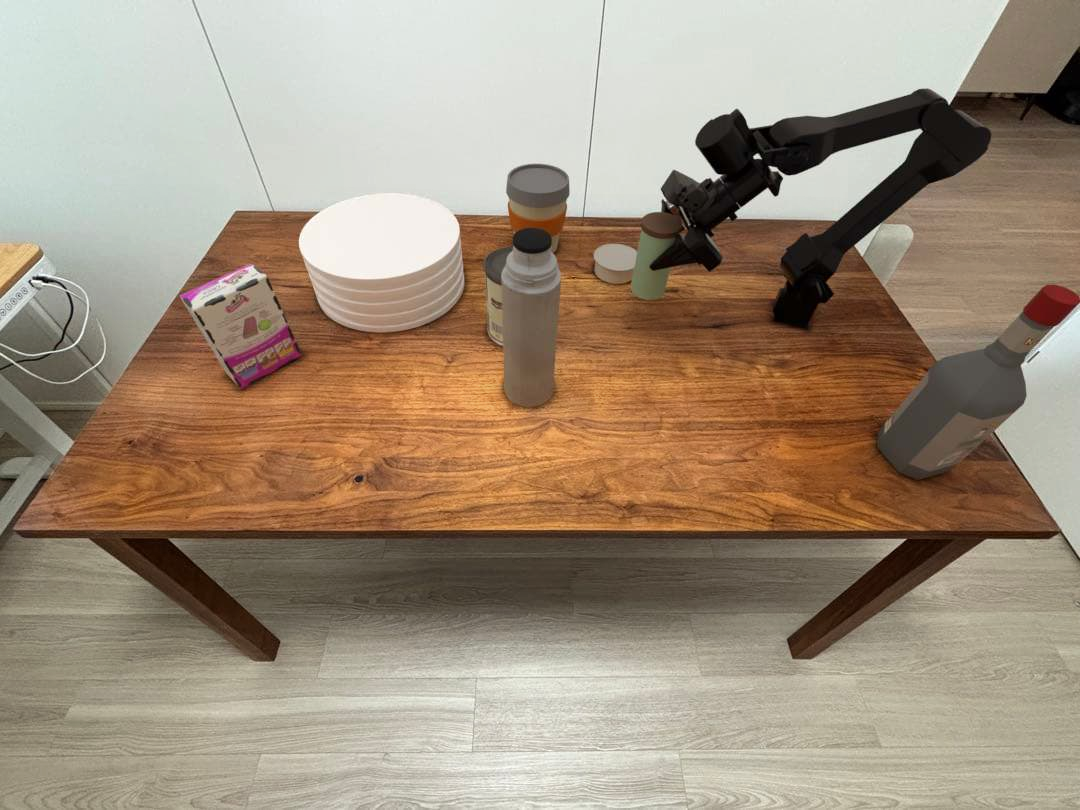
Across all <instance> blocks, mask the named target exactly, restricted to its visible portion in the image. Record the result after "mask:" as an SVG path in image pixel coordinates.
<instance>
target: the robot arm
mask: <svg viewBox="0 0 1080 810" xmlns="http://www.w3.org/2000/svg"><path fill="white" fill-rule="evenodd" d="M917 130H921V132H920V134H919V135H918V136H917V137H916V138H915V139H914V141H913V143H912V145H911V147H910V149H909V151H908V153H907V154H906V155H907V156H906V158H905V160H904V161H903V162H902V163H901V164H900V165H899V166H898V167H896V169H894V170H893V171H892V172H891V173H890V174H888V175H887V177H885V178H884V179H883V180H882V181H881V182H880V183H878V184H877V185H876V186H875V187H874V188H873V189H871V191H869V192H868V193H867V194H866V195H865V196H864V197H862V198H861V199H860V200H859V201H858V202H856V204H855V205H853V206H852V207H851V208H850V209H849V210H848V211H846V212H845V213H844V214H843V215H842V216H841V217H840V218H839V219H837V221H835V222H834V223H833V224H832V225H830V226H829V227H828V229H826V230H825V231H823V232H821V233H818V234H815V235H812V236H809V234H808V233H807V232H806V233H803V234H801V235H799V237H798V239H797V240H796V241H794V242H793V244H791V245H789V246H788V247H786V248H785V253H783V255H781V258H780V264H779V266H780V269H781V271H782V273H783V274H782V275H783V277H784V278H785V279H786V281H785V284H784V286H783V287H780V288H779V289H778V291H777V294H776V296H775V298H774V300H773V301H772V307H771V312H772V314H773V317H772V321H773V322H774V323H777V324H781V325H786V326H790V327H791V326H792V327H796V328H800V329H805V330H809V329H810V327H811V320H812V317H813V316H814V313H815V311H816V310H817V308H818V306H819V305H820V304H826V303H828V302H829V300H831V298H833V296H834V295H835V294H834V291H833V290H832V288H831V287H830V286H829V284H828V283H827V282H828V280H830V279H831V278H832V276H834V275H835V274H836V272H837V271H838V268H839V266H840V264H841V262H842V260H843V258H844V255H845V254H846V253H848V251H850V250H851V249H852V248H853V247H855V246H856V245H857V244H858V243H859V242H860V241H862V240H863V239H864V238H865V237H866V236H868V235H869V234H871V232H873V231H874V230H876V228H877V227H879V226H880V225H881V224H882V223H883V222H884V221H886V220H887V219H888V218H890V217H891V216H892V215H893V214H894V213H896V212H897V211H898V210H900V208H902V207H903V206H904V205H905V204H906V203H908V202H909V201H910V200H912V198H914V197H915V196H916V195H917V194H918V193H920V192H921V191H922V190H923V189H925V188H926V187H927V186H928V185H930V184H933V183H936V182H939V181H943V180H946V179H949V178H952V177H955V176H956V175H957V174H960V172H962V171H963V170H965V169H967V168H968V167H969V166H971V165H972V164H974V163H975V162H977V161H978V160H980V158H982V157H983V156H984V155H985V154H986V152H987V151H988V150H989V145H990V142H991V140H992V131H991V130H990V129H989V128H988V127H987V126H985V125H983V124H982V123H980V122H979V121H978V120H976V119H974V118H972V116H970V115H968V114H967V113H965V112H964V111H962V110H959V109H954V108H953V107H952V106H951V105H950V104H949V102H948V100H947V99H946V98H945V97H943V96H942V95H940V94H939V93H937V92H936V91H934V90H933V89H931V88H928V87H927V88H918V89H916V90H914V91H913V92H911V93H909V94H906V95H903V96H898V97H895V98H892V99H889V100H884V101H881V102H878V103H875V104H871V105H868V106H864V107H861V108H860V107H859V108H857V109H854V110H850V111H846V112H843V113H839V114H836V115H832V116H831V115H830V116H815V115H801V116H800V115H799V116H791V117H785V118H782V119H780V120H778V121H776V122H774V123H773V124H769V125H762V126H758V127H757V126H756V127H751V128H750V127H749V125H748V122H747V119H746V117H745V116H744V114H743V113H742V112H741V110H740V109H738V108H735V109H734V110H732V112H731V113H725V114H722V115H719V116H717V117H715V118H711V119H710V120H708V121H707V122H706V123H705V124H704V125H703V126H702V127H701V128H700V130H699V131H698V133H697V134H696V137H695V140H694V144H695V147H696V148H697V149H698V151H699V152H700V153H701V155H702V156H703V158H704V159H705V160H706V162H707V163H708V165H709V166H710V168H711V169H712V170H713V171H714V172H715V174H717V175H720V176H719V177H718V178H716V179H715V180H714V181H713V179H712V178H711V177H709V178H705V179H704V180H702V181H701V182H699V181H697V180H695V179H694V178H692V177H691V176H688V175H686V174H684V173H682V172H680V171H678V170H677V169H673V170H672V171H671V172H670V174H669V175H668V177H667V178H666V180H665V181H664V183H663V184H662V185H661V187H660V192H661V193H662V195H663V198H665V199H663V198H662V199H661V201H660V203H661V210H660V212H664V213H669V214H672V215H674V216H676V217H678V218H679V219H680V220H681V222H682V230H681V232H683V231H685V230H687V232H686V233H685V236H684V237H683V235H682V234H681V233H679V232H677V234H676V238H675V241H674V244H673V245H671V246H670V247H669V248H668V249H667V250H666V251H665V252H663V253H662V254H661V255H660V256H659V257H658V258H657V259H656V260H654V262H653V263H652V264H651V265H650V266H649V267H650V269H651V270H652V271H655V270H660V269H665V268H669V267H671V268H673V267H679V266H686V265H693V264H697V265H699V266H701V265H702V266H703V267H704V268H705V269H706V270H707V272H709V273H710V272H712V271H714V270H715V269H716V268H718V267H719V266H720V265H721V264H722V261H723V258H724V256H723V255H722V253H721V251H720V249H719V247H718V245H717V244H716V243H715V241H714V240H713V239H712V237H713V236H715V232H714V231H713V230H714V229H715V228H716V227H718V226H719V225H720V224H722V223H723V222H725V221H726V220H727V219H728V218H729V220H730V221H731V222H734V221H735V220H737V219H738V215H737V214H736V213H737V212H738V211H739V210H741V209H742V208H743V207H744V206H746V205H747V204H748V203H750V202H751V201H752V200H753V199H755V198H757V197H758V196H759V195H760V194H761V193H763V192H765V191H766V190H768V191H769V192H770V193H771V195H772V196H773V197H778V196H779V194H780V190H781V185H782V182H783V180H784V177H783V175H784V176H796V175H799V174H801V173H804V172H806V171H808V170H810V169H813V168H816V167H818V166H820V165H821V164H822V163H823V162H825V161H826V160H827V159H828V158H829V157H830V156H831V155H834V154H837V153H839V152H842V151H845V150H848V149H853V148H856V147H860V146H863V145H866V144H870V143H873V142H874V143H875V142H877V141H881V140H885V139H889V138H892V137H896V136H898V135H903V134H906V133H910V132H913V131H917ZM756 155H758V156H759V158H754V157H755V156H756ZM771 167H772V168H776V169H777V171H776V170H775V171H773V170H772V169H771ZM781 174H783V175H781Z"/></svg>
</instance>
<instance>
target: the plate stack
mask: <svg viewBox="0 0 1080 810" xmlns="http://www.w3.org/2000/svg"><path fill="white" fill-rule="evenodd" d="M298 247H299V248H298V249H299V251H300V254H301V256H302V259H303V261H304V266H305V268H306V270H307V273H308V276H309V279H310V282H311V284H312V288H313V290H314V294H315V297H316V300H317V303H318V304H319V307H320V308H321V310H322V311H323V313H324V314H325V315H326V316H327V317H328V318H329V319H330V320H332V321H334V322H335V323H337V324H339V325H341V326H344V327H346V328H349V329H352V330H356V331H361V332H367V333H395V332H402V331H407V330H412V329H414V328H419V327H422V326H425V325H426V324H429V323H431V322H433V321H435V320H437V319H439V318H441V317H442V316H444V315H445V314H447V313H448V312H449V311H450V310H451V309H452V308H453V307H454V306H455V305H456V304H457V303H458V301H459V300H460V299H461V296H462V295H463V292H464V289H465V273H464V262H463V252H462V240H461V229H460V224H459V221H458V218H457V217H456V216H455V214H454V213H453V212H452V211H451V210H450V209H449V208H447V207H446V206H444V205H443V204H441V203H439V202H437V201H435V200H432V199H429V198H427V197H423V196H419V195H415V194H409V193H395V192H389V193H387V192H386V193H385V192H383V193H371V194H366V195H360V196H356V197H355V196H354V197H351V198H348V199H345V200H342V201H338V202H337V203H334V204H332V205H329V206H328V207H326V208H324V209H322V210H321V211H319V212H318V213H316V214H315V215H314V216H312V217H311V218H310V219H309V220H308V221H307V222H306V223H305V224H304V226H303V228H302V229H301V231H300V233H299V237H298Z"/></svg>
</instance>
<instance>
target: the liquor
mask: <svg viewBox="0 0 1080 810" xmlns="http://www.w3.org/2000/svg"><path fill="white" fill-rule="evenodd" d="M1079 305H1080V296H1079V295H1078V294H1077V293H1076V292H1075V291H1073V290H1072V289H1069V288H1068V287H1065V286H1062V285H1058V284H1046V285H1044V286H1042V287H1041V289H1040V290H1038V292H1037V293H1036V294H1035V295H1034V296H1033V297H1032V298H1031V299H1030V301H1028V303H1027V304H1026V305H1025V306H1024V307H1023V308H1022V312H1021V313H1020V314H1019V315H1018V316H1017V317H1016V318H1015V319H1014V320H1013V321H1012V323H1010V324H1009V326H1008V327H1007V328H1006V329H1005V330H1004V331H1003V332H1002V333H1001V334H1000V335H999V336H998V337H997V338H996V339H995V340H994V341H993V342H992V343H990V344H988V345H986V347H985V348H981V349H976V350H975V349H974V350H971V351H966V352H960V353H957V354H953V355H949V356H944V357H942V358H940V359H938V360H937V361H935V362H934V363H933V364H932V366H931V367H930V368H929V369H928V370H927V372H926V373H925V374H924V375H923V377H922V378H921V379H920V380H919V381H918V383H916V385H915V386H914V388H913V389H912V390H911V391H910V393H908V395H907V396H906V398H904V400H903V401H902V402H901V403H900V404H899V406H898V407H897V408H896V410H895V411H894V412H893V413H892V414H891V416H889V418H888V419H887V420H886V421H885V423H884V424H883V425H882V426H881V427H880V429H879V430H878V432H877V439H876V448H877V450H879V452H880V453H881V454H882V455H883V457H885V459H886V460H887V461H888V462H889V463H890V464H891V466H892V468H894V469H895V470H896V471H897V472H898V474H901V475H903V476H906V477H909V478H912V479H914V480H916V481H918V480H923V479H926V478H930V477H934V476H937V475H942V474H944V473H949V472H951V471H952V470H954V469H955V468H956V467H957V466H958V465H959V464H960V463H961V462H962V461H964V460H965V459H966V458H967V457H968V456H969V455H971V453H972V452H973V451H975V450H976V448H978V446H980V445H981V444H982V443H983V442H984V441H985V440H986V439H987V438H988V437H990V435H992V434H993V433H994V432H995V431H996V430H997V429H998V428H999V427H1000V426H1001V425H1003V423H1005V422H1006V421H1007V420H1008V419H1009V418H1010V417H1011V416H1013V415H1014V414H1015V413H1016V412H1017V411H1018V410H1019V409H1020V408H1021V407H1023V405H1024V404H1025V401H1026V399H1027V396H1028V395H1027V385H1026V379H1025V376H1024V371H1023V369H1022V364H1023V363H1025V360H1026V357H1027V356H1028V355H1029V354H1030V353H1031V352H1032V350H1033V349H1035V347H1037V345H1039V343H1040V342H1041V341H1042V340H1043V339H1044V338H1045V337H1046V336H1047V335H1048V334H1049V333H1050V332H1051V331H1052V330H1053V329H1054V328H1055V327H1057V326H1058V325H1060V324H1061V323H1062V322H1063V321H1065V319H1066V318H1067V317H1068V316H1069V315H1070V314H1071V313H1072V312H1073V311H1074V310H1075V309H1076V308H1077V307H1078V306H1079Z"/></svg>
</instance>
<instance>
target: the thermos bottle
mask: <svg viewBox="0 0 1080 810" xmlns="http://www.w3.org/2000/svg"><path fill="white" fill-rule="evenodd" d="M551 245H552V237H551V235H550V234H549V233H548V232H546V231H545V230H542V229H539V228H525V229H521V230H519V231H517V232H516V233H515V234H514V233H513V236H512V246H513V251H512V252H510V254H509V255H508V256H507V260H506V265H505V267H504V269H503V271H502V275H501V285H502V322H503V346H502V353H503V355H502V356H503V357H502V358H503V389H504V394H505V396H506V397H507V400H509V401H510V402H512V403H513V404H515V405H517V406H520V407H526V408H533V407H537V406H541V405H543V404H545V403H546V402H547V401H548V400H549V399H551V397H552V395H553V392H554V383H555V381H554V380H555V368H556V356H557V355H556V353H557V340H558V329H559V327H558V326H559V314H560V303H561V301H560V300H561V290H562V289H561V287H562V286H561V284H562V272H561V270H560V268H559V263H558V259H557V257H556V255H555V254H554V253H552V252H551Z"/></svg>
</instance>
